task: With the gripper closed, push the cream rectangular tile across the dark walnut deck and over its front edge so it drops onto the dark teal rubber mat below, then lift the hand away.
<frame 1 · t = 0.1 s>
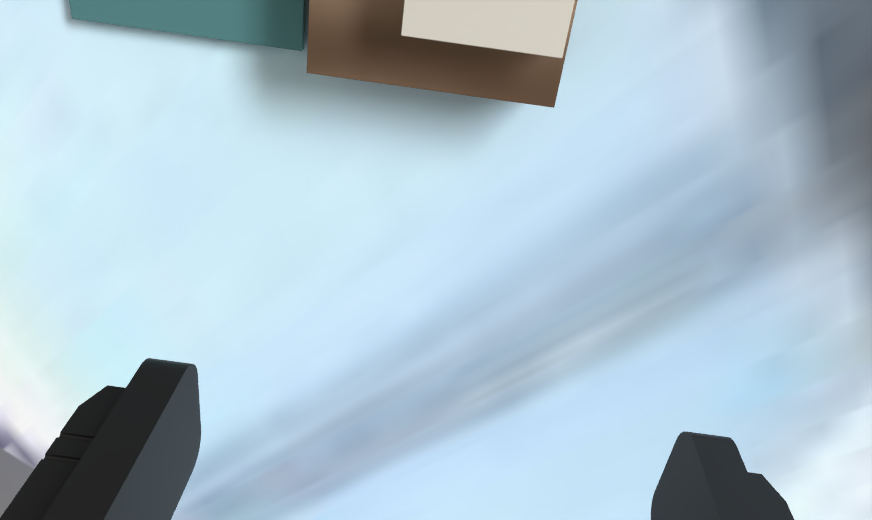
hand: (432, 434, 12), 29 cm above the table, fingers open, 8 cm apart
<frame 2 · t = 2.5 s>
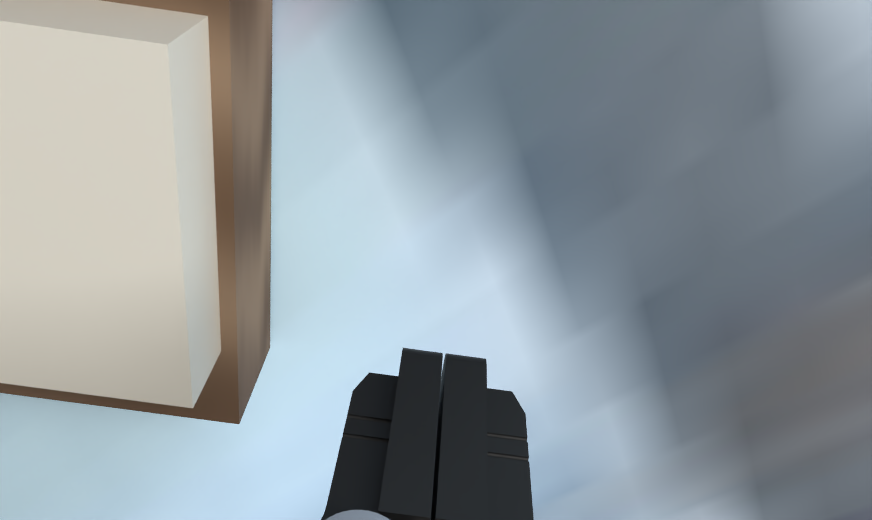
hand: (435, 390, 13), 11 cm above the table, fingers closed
cream rectangular tile: (84, 188, 19), point 4 cm above the table, touching deck
deck: (81, 123, 22), on the table
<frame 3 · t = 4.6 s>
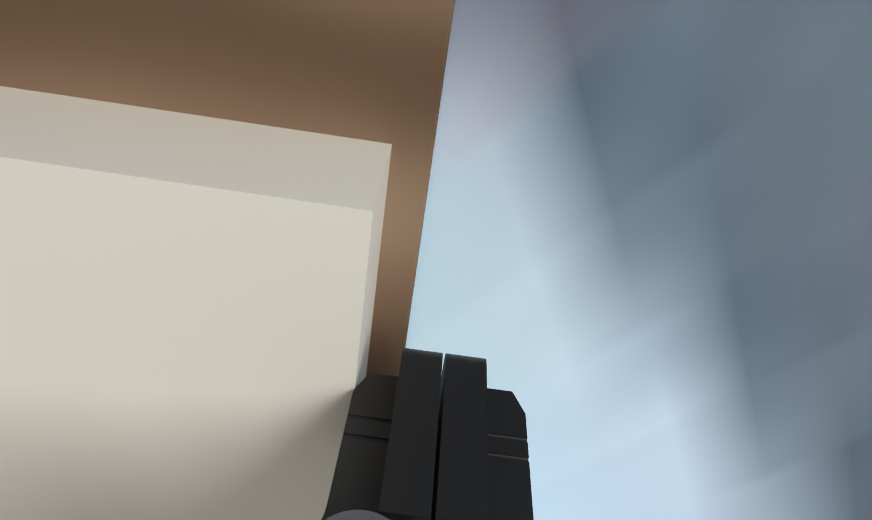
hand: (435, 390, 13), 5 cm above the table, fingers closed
cream rectangular tile: (196, 346, 15), point 4 cm above the table, touching deck, gripper
deck: (179, 238, 18), on the table
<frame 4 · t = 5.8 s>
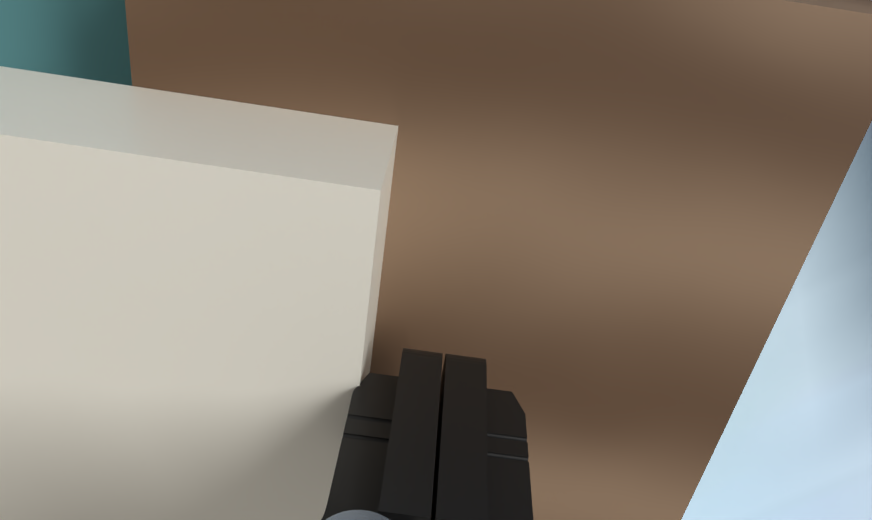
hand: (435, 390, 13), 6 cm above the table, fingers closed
cream rectangular tile: (199, 333, 14), point 4 cm above the table, touching gripper
deck: (452, 270, 18), on the table
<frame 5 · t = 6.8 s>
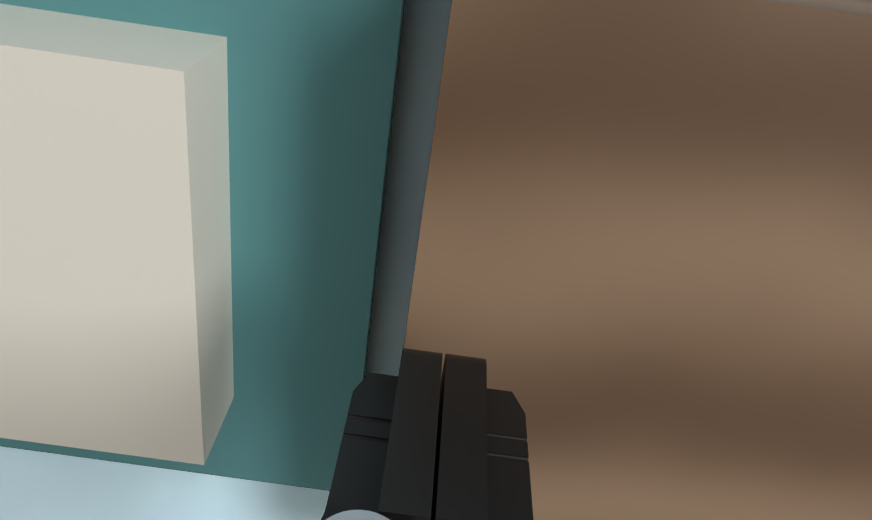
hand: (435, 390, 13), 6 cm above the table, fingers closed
cream rectangular tile: (31, 278, 15), point 3 cm above the table, tilted 180°, touching mat
deck: (648, 301, 18), on the table
mat: (139, 229, 18), on the table
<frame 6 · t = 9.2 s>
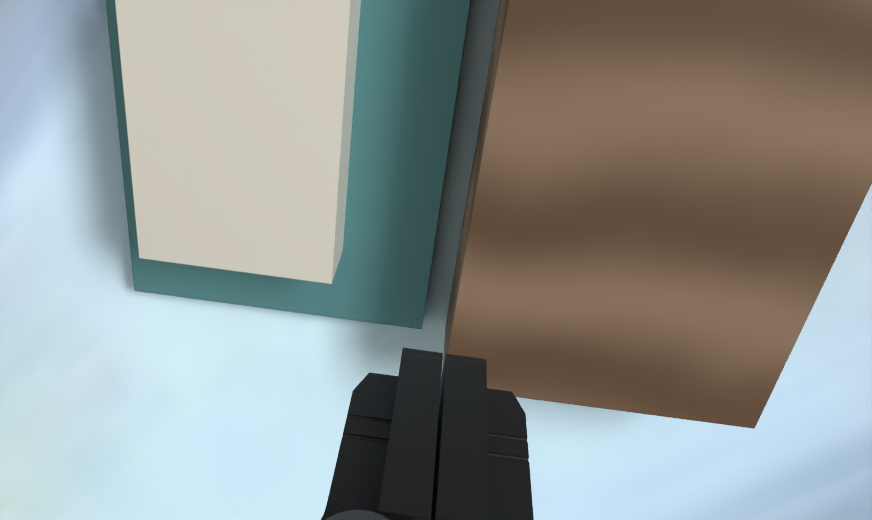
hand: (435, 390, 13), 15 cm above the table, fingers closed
cream rectangular tile: (233, 141, 23), point 3 cm above the table, tilted 180°, touching mat
deck: (635, 172, 26), on the table
mat: (286, 123, 26), on the table
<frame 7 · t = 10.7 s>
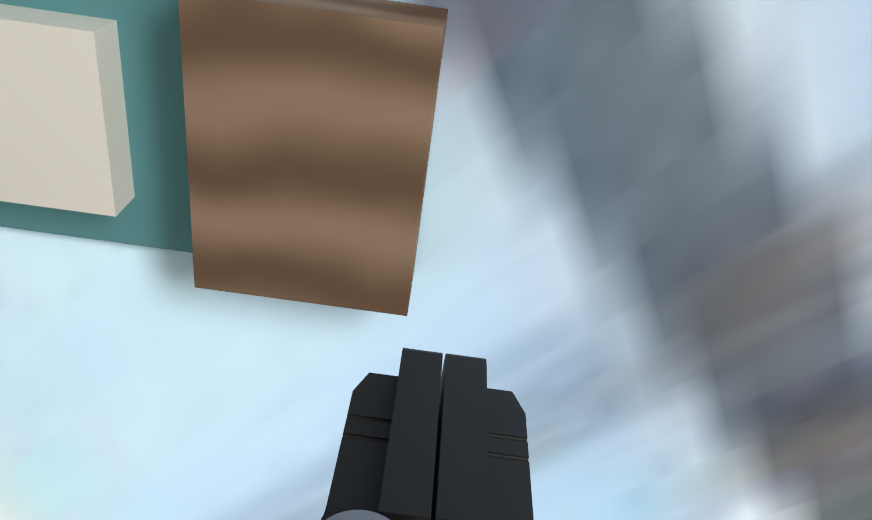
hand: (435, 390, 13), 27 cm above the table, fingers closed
cream rectangular tile: (37, 121, 36), point 3 cm above the table, tilted 180°, touching mat
deck: (321, 142, 39), on the table
mat: (85, 109, 39), on the table
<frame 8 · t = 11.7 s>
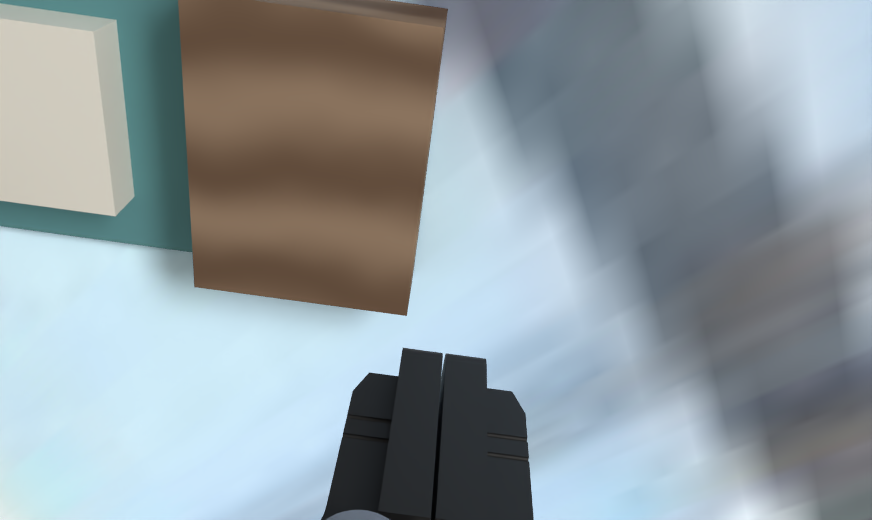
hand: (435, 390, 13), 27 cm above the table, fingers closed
cream rectangular tile: (36, 120, 36), point 3 cm above the table, tilted 180°, touching mat
deck: (320, 142, 39), on the table
mat: (85, 109, 39), on the table
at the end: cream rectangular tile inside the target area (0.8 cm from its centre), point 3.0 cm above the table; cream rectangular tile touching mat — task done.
